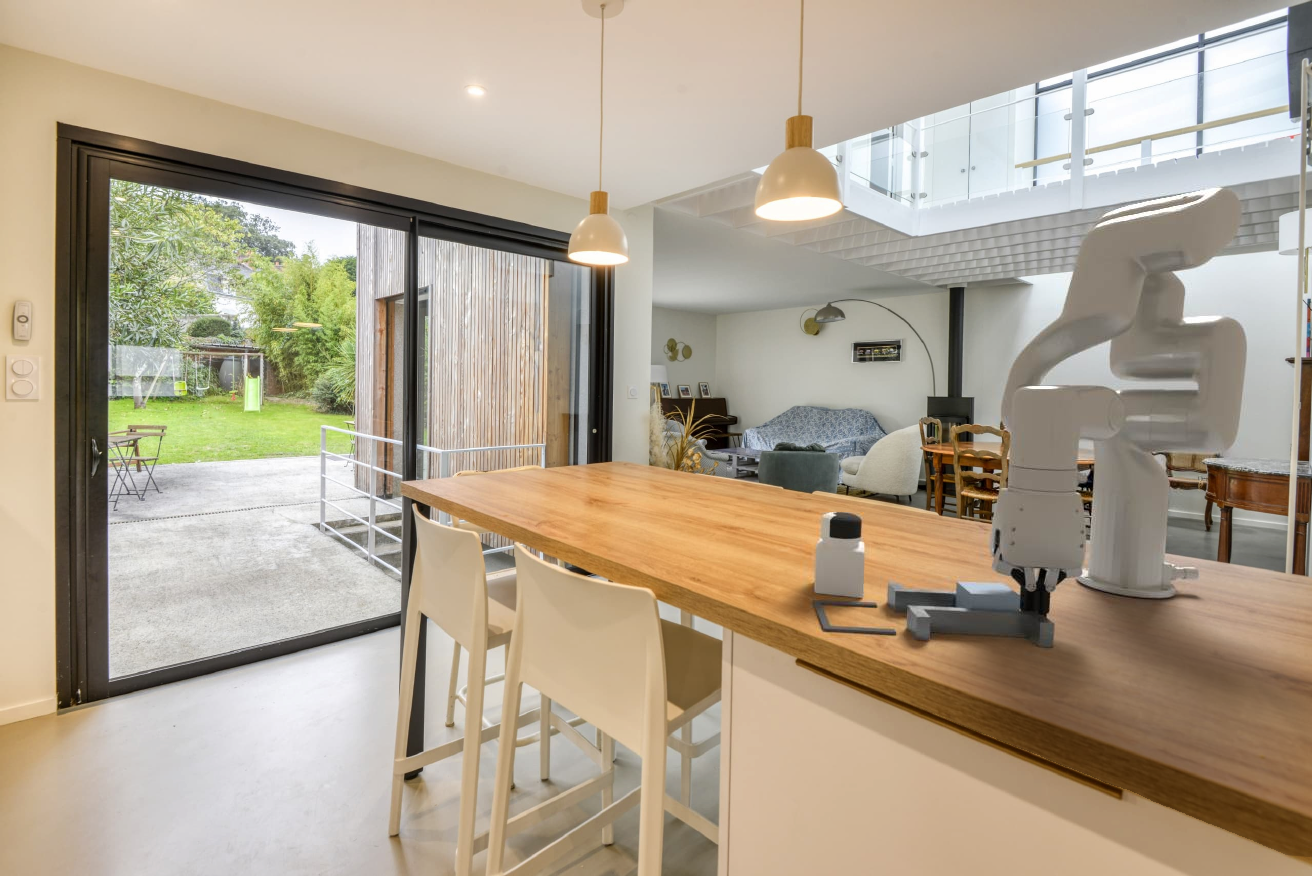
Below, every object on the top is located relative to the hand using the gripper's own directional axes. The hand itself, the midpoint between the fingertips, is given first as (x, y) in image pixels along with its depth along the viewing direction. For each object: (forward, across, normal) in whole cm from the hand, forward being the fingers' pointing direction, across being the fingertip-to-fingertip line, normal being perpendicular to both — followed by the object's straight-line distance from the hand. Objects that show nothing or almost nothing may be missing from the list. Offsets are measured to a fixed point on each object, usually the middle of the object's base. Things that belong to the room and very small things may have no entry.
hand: (1033, 617), depth 79 cm
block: (+1, +6, 0) cm, 6 cm away
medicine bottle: (+1, +23, -12) cm, 26 cm away
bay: (+1, +23, 0) cm, 23 cm away
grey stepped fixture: (+1, +9, 0) cm, 9 cm away
